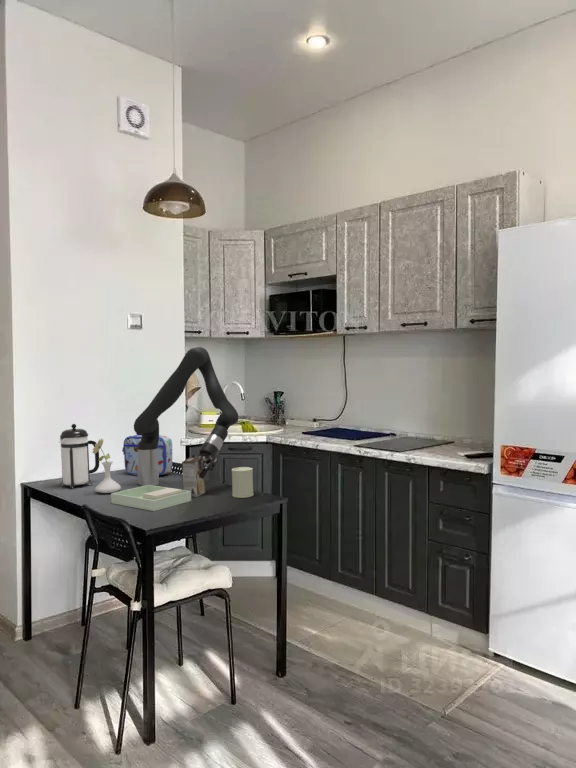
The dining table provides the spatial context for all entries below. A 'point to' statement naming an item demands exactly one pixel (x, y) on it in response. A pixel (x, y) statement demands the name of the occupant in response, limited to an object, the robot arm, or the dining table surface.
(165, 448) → the lunch box
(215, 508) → the dining table surface
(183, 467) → the coffee box
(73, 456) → the coffee press
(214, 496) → the dining table surface
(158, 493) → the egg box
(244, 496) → the can
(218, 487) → the dining table surface
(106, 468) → the flower in vase
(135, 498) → the tray
